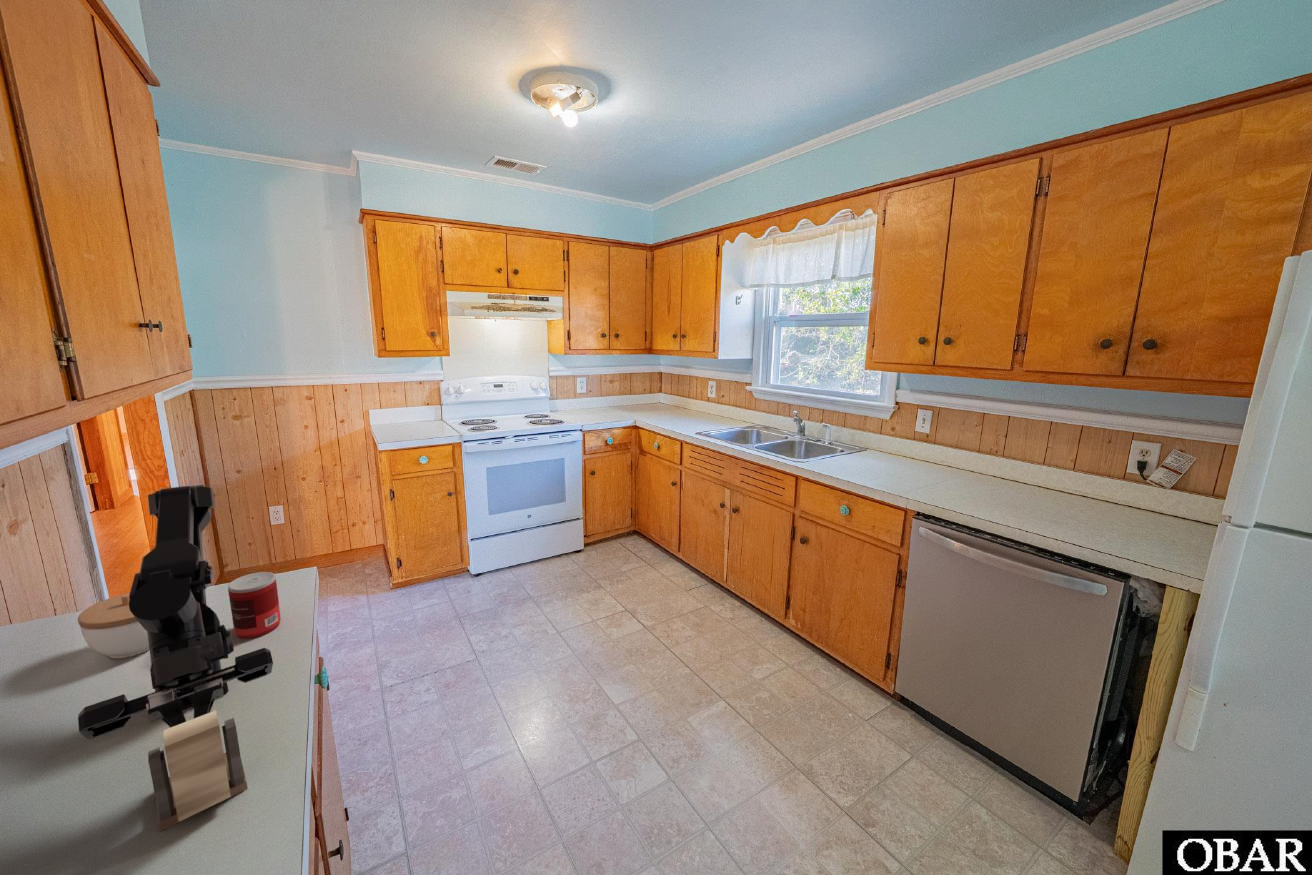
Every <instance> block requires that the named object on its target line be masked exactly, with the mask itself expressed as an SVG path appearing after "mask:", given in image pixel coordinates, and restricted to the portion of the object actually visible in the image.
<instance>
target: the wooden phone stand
mask: <svg viewBox="0 0 1312 875" xmlns="http://www.w3.org/2000/svg"><path fill="white" fill-rule="evenodd" d="M223 723H224V725H222V726H221V730H222V734H223V742H224V748H225V749H224V750H225V752H224V758H225V764H226V770H227V776H228V782H229V788H230V795H231V797H233V796H235V795H238V794H240V793H242V792H244V791H246V790H248V782H247V778H246V774H245V770H244V765H243V761H242V758H241V750H240V744H239V737H238V731H237V726H236V725H237V724H236V721H235V717H231V718H229V719H227V720H224V722H223ZM147 757H148V759H147V760H148V767H149V771H150V777H151V781H152V782H151V783H152V786H153V790H154V797H155V801H156V805H157V806H156V808H157V824H158V829H159V832H162V831H164V830H165V829H168V828H170V827H172V826H174V825H176V824H178V823H179V821H178V816H177V811H176V806H175V800H174V795H173V790H172V784H171V779H170V775H169V770H168V764H167V759H166V754H165V749H163V750H161V749H160V747H156V748H154V749H151V750H149V751H147ZM209 808H210V807H208V808H206V809H204V810H202V811H205V810H207V809H209ZM202 811H200V812H198V813H197V814H199V813H201V812H202Z"/></svg>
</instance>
